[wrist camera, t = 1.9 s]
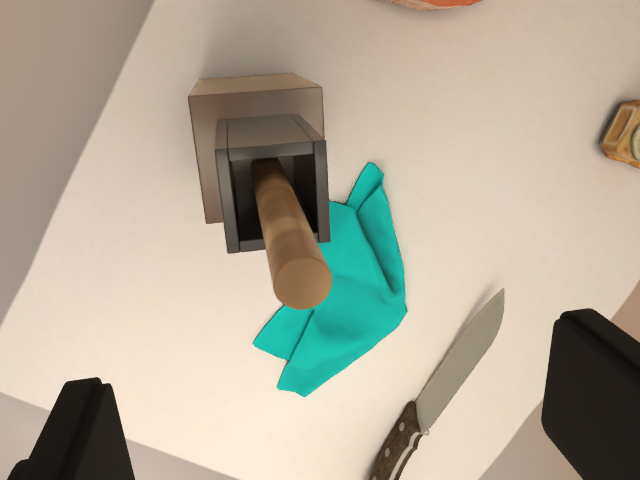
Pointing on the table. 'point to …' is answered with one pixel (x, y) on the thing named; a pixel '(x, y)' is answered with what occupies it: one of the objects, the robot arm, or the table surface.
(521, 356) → the table surface
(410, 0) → the bowl
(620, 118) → the ornament
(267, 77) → the utensil stand
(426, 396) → the knife
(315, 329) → the cloth
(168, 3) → the table surface
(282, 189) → the stick
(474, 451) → the table surface
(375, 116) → the table surface
